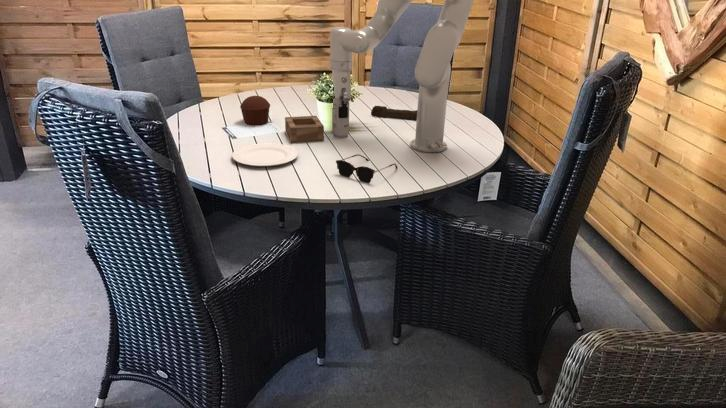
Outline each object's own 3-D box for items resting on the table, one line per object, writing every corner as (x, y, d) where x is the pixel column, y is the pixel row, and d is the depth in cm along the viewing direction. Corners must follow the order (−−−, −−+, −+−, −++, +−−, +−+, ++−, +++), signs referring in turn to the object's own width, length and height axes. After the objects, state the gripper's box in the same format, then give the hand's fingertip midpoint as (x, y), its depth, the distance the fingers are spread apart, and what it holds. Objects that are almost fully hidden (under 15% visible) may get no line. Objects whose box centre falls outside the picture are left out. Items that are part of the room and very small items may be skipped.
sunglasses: (334, 175, 162) (335, 159, 160) (364, 163, 174) (365, 148, 173) (373, 186, 155) (374, 169, 153) (401, 173, 168) (402, 157, 166)
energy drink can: (348, 138, 193) (349, 97, 186) (331, 138, 193) (331, 96, 186) (349, 133, 198) (349, 92, 192) (332, 132, 198) (332, 92, 192)
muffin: (261, 128, 201) (260, 102, 196) (235, 124, 204) (233, 98, 200) (276, 120, 211) (275, 95, 207) (251, 117, 214) (249, 92, 210)
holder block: (323, 141, 189) (323, 126, 187) (291, 143, 186) (290, 128, 184) (316, 130, 201) (316, 115, 198) (285, 131, 198) (285, 117, 195)
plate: (234, 173, 161) (234, 167, 160) (230, 150, 179) (229, 145, 178) (303, 168, 166) (303, 162, 165) (292, 146, 184) (292, 141, 183)
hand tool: (418, 119, 219) (418, 107, 217) (416, 121, 215) (417, 110, 213) (372, 114, 223) (373, 103, 221) (370, 117, 219) (370, 106, 217)
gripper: (358, 70, 178) (356, 120, 186) (345, 60, 193) (344, 107, 201) (335, 70, 176) (334, 121, 184) (324, 60, 191) (324, 107, 199)
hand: (339, 113), depth 192 cm, fingers open, 9 cm apart
